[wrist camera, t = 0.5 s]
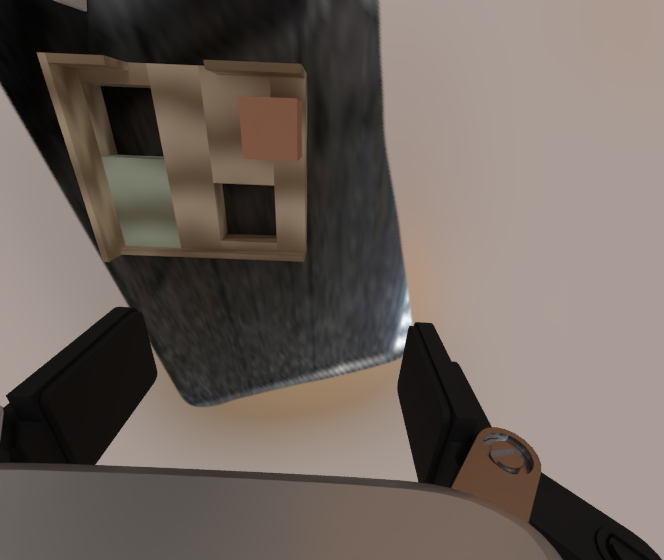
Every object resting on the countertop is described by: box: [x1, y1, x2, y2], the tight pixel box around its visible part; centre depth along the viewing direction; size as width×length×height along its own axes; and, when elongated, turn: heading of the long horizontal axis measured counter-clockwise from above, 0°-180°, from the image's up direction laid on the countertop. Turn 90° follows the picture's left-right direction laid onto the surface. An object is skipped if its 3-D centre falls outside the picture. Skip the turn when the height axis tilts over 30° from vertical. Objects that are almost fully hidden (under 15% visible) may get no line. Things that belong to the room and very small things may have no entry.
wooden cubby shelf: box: [37, 53, 307, 262], centre depth 30 cm, size 17×20×6 cm
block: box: [238, 96, 302, 161], centre depth 26 cm, size 4×4×4 cm
